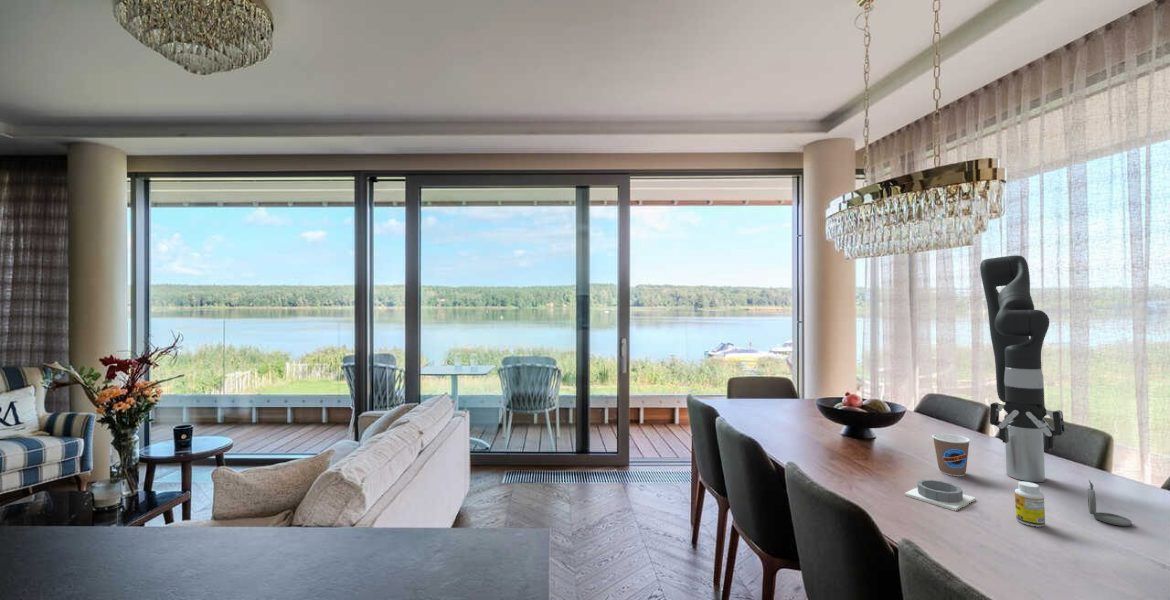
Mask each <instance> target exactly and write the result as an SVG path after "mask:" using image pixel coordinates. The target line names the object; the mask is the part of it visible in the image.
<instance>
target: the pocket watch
mask: <svg viewBox="0 0 1170 600" xmlns="http://www.w3.org/2000/svg"><path fill="white" fill-rule="evenodd" d="M1088 483H1089V488H1088V489H1087V503H1088V504H1087V505H1088V512H1089V514H1090V515H1092V516H1093V517H1094V519H1097V520H1098V521H1100V522H1102V521H1103V522H1102V523H1106V524H1110V525H1114V526H1121V527H1128V526H1132V524H1133V522H1132V520H1131V519H1128V518H1127V517H1125V516H1121V515H1118V514H1114V513H1109V512H1101V511H1097V501H1096V492H1095V490H1094V485H1093V484H1094V483H1092V482H1091V480H1090V479H1088Z"/></svg>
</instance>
